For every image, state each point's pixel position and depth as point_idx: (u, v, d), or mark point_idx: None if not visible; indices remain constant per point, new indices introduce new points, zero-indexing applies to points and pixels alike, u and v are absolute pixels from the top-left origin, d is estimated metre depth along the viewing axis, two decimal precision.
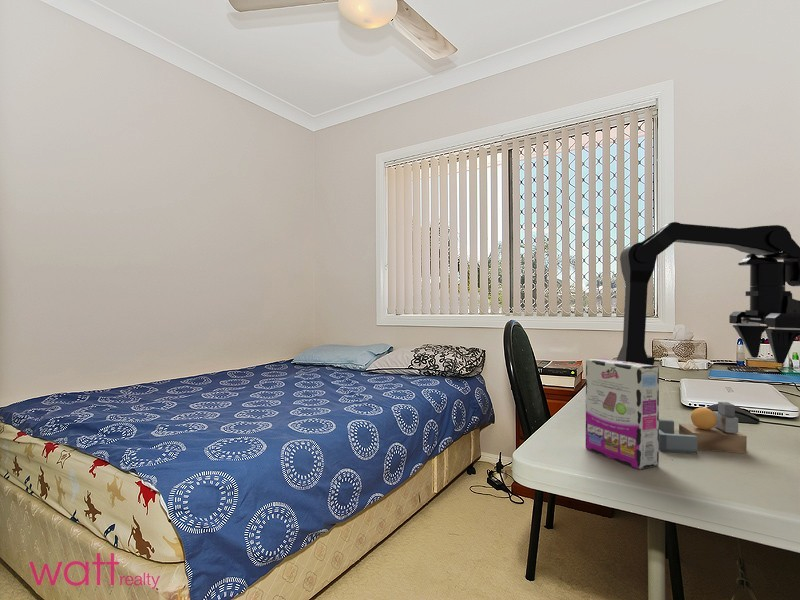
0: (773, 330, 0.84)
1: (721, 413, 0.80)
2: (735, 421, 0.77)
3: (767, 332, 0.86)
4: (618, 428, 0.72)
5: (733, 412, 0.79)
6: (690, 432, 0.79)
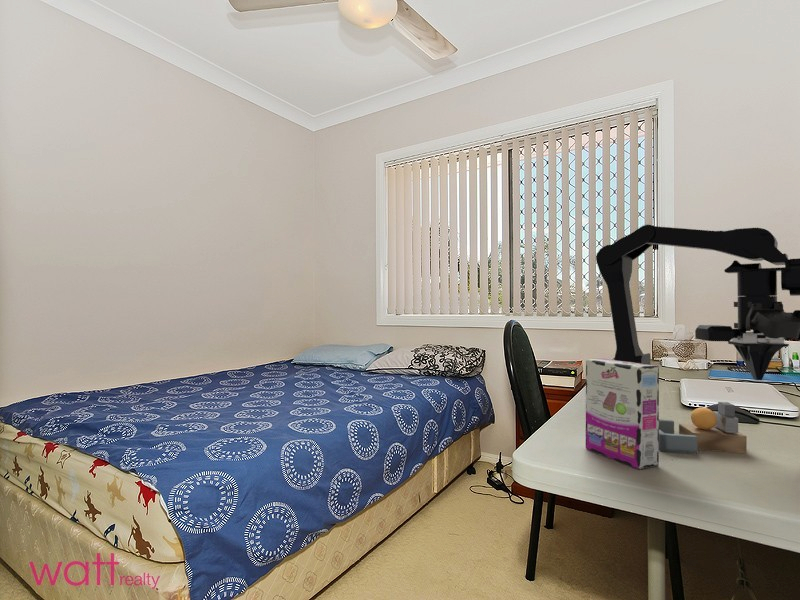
0: None
1: (721, 413, 0.80)
2: (735, 421, 0.77)
3: None
4: (618, 428, 0.72)
5: (733, 412, 0.79)
6: (690, 432, 0.79)
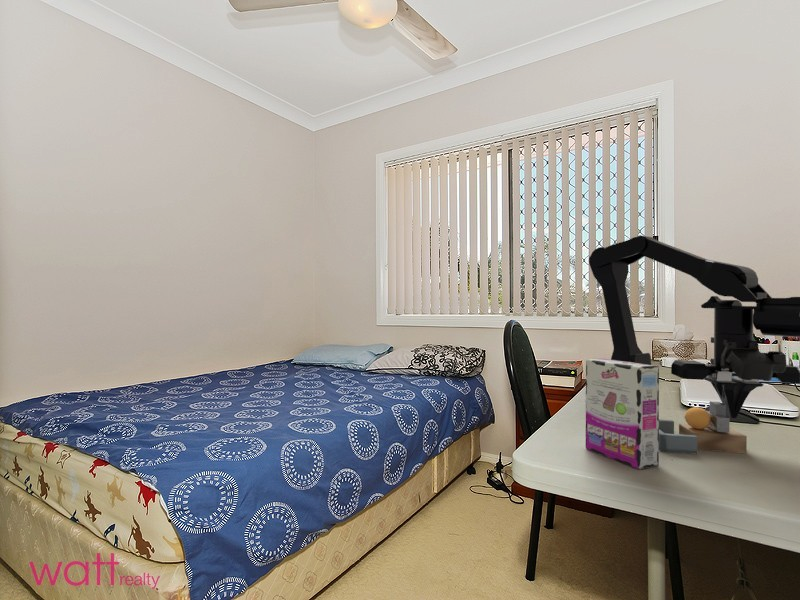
0: None
1: (713, 413, 0.80)
2: (726, 420, 0.78)
3: None
4: (618, 428, 0.72)
5: (724, 412, 0.79)
6: (690, 432, 0.79)
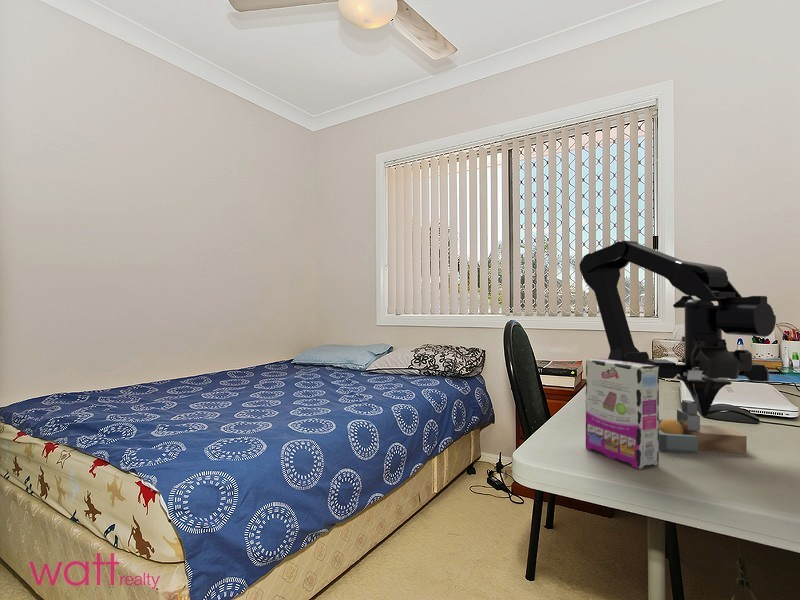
0: None
1: (684, 411, 0.81)
2: (697, 419, 0.79)
3: None
4: (618, 428, 0.72)
5: (695, 410, 0.80)
6: (690, 432, 0.79)
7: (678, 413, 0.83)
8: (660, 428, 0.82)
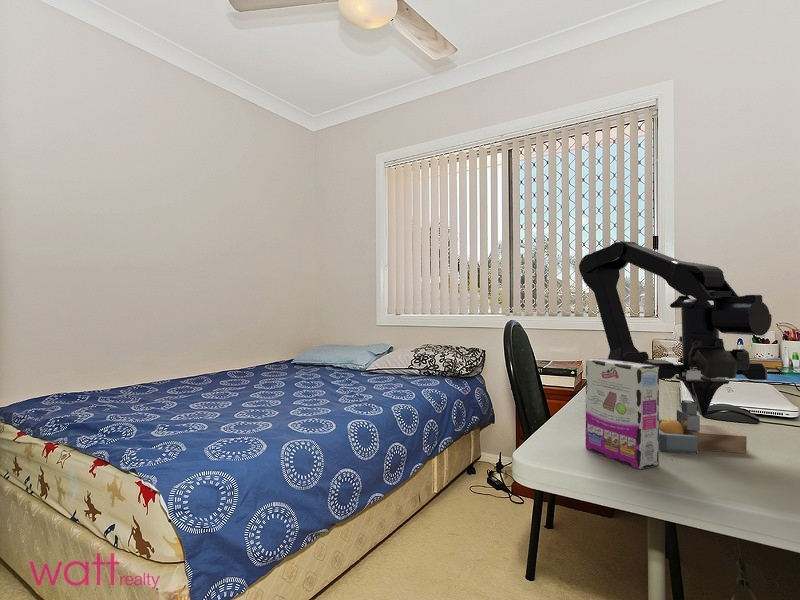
0: None
1: (684, 411, 0.81)
2: (697, 419, 0.79)
3: None
4: (618, 428, 0.72)
5: (695, 410, 0.80)
6: (690, 432, 0.79)
7: (678, 413, 0.83)
8: (660, 428, 0.82)
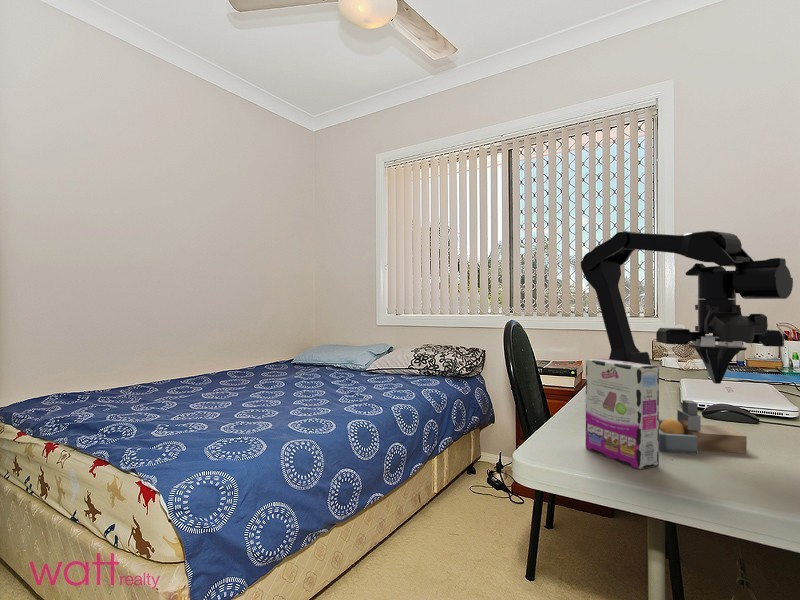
0: None
1: (685, 411, 0.81)
2: (697, 419, 0.79)
3: None
4: (618, 428, 0.72)
5: (696, 410, 0.80)
6: (690, 432, 0.79)
7: (678, 413, 0.83)
8: (661, 427, 0.82)
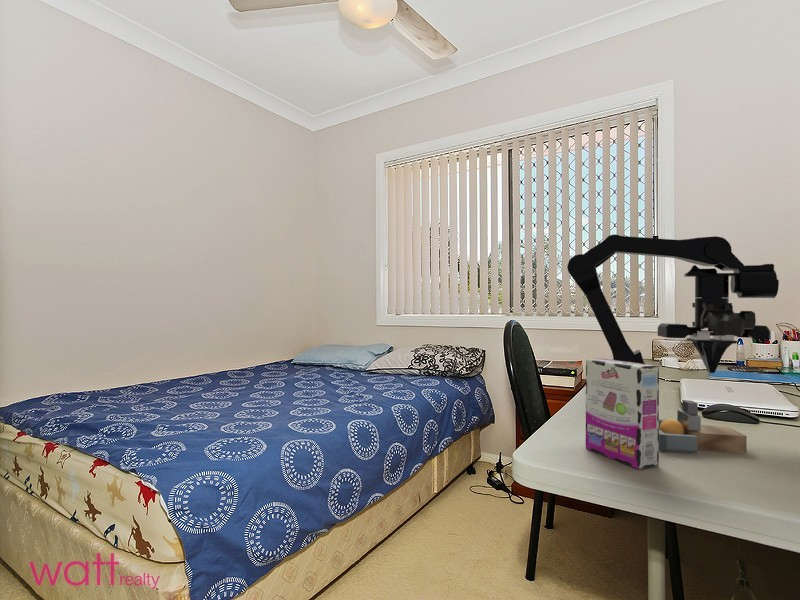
0: None
1: (685, 411, 0.81)
2: (697, 419, 0.79)
3: None
4: (618, 428, 0.72)
5: (696, 410, 0.80)
6: (690, 432, 0.79)
7: (678, 413, 0.83)
8: (661, 427, 0.82)
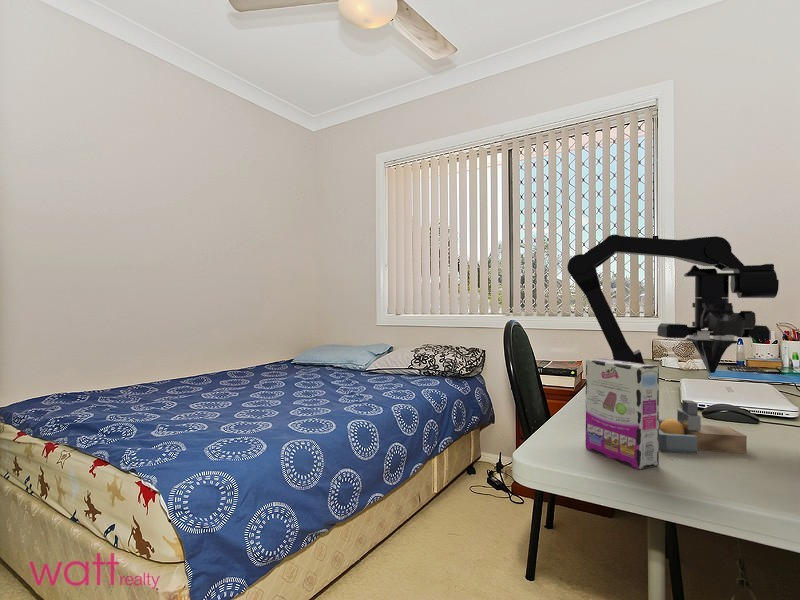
0: None
1: (685, 411, 0.81)
2: (697, 419, 0.79)
3: None
4: (618, 428, 0.72)
5: (696, 410, 0.80)
6: (690, 432, 0.79)
7: (678, 413, 0.83)
8: (661, 427, 0.82)
